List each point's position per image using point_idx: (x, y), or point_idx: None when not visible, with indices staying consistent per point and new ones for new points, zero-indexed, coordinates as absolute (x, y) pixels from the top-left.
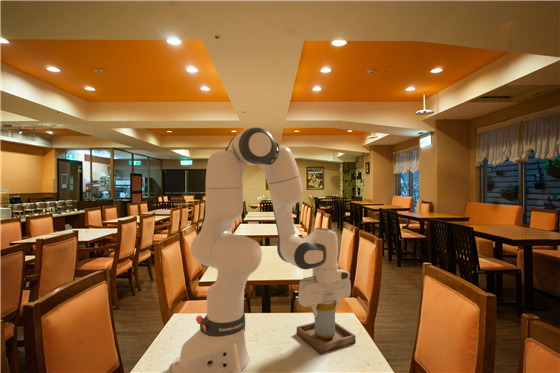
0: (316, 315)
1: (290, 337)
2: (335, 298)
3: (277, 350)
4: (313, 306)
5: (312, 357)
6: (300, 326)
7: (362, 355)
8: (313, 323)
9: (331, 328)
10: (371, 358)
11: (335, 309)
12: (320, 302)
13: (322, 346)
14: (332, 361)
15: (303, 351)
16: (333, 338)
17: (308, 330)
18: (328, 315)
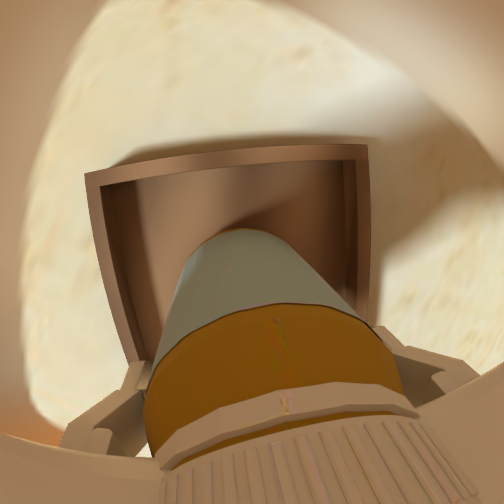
0: (383, 329)
1: None
2: (117, 477)
3: (462, 254)
4: (466, 373)
5: (388, 143)
6: None
7: (144, 57)
8: None
9: (234, 242)
10: (124, 29)
11: (136, 375)
12: (447, 404)
13: (349, 144)
14: (320, 71)
15: (399, 205)
16: (206, 239)
17: None
18: (293, 279)
